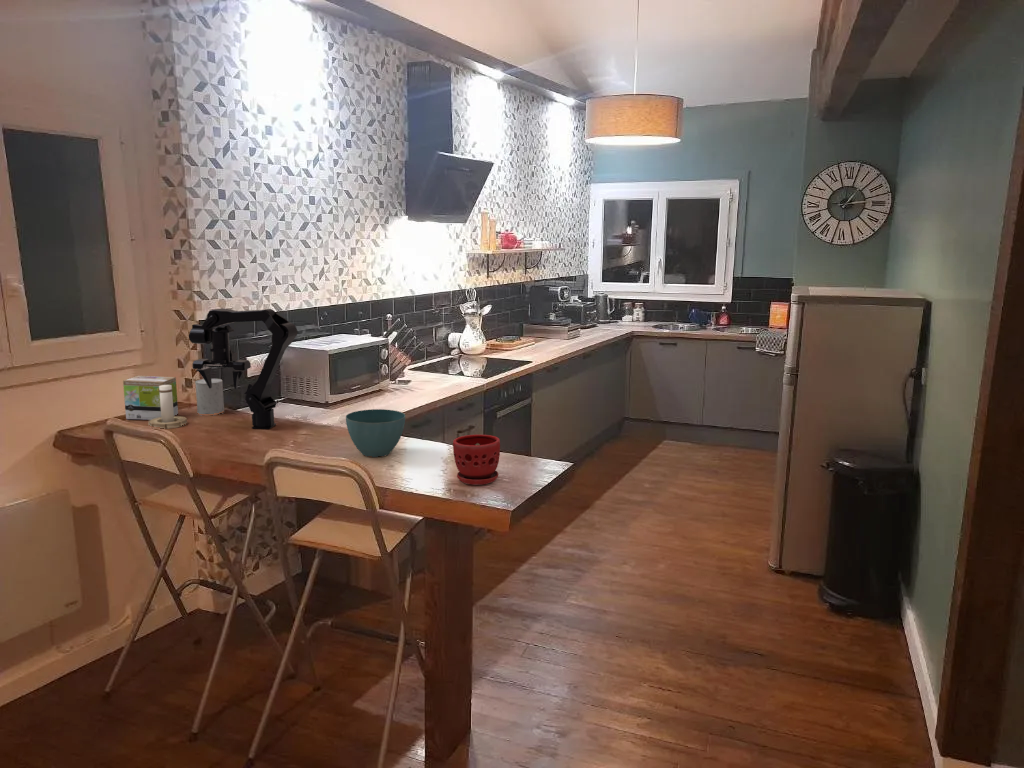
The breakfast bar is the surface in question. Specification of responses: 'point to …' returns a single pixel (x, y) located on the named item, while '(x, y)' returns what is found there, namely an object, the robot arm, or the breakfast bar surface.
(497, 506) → the breakfast bar surface
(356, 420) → the plant pot
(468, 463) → the plant pot
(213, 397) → the gray cylinder
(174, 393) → the tea box
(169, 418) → the needle peg
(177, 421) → the bead ring
